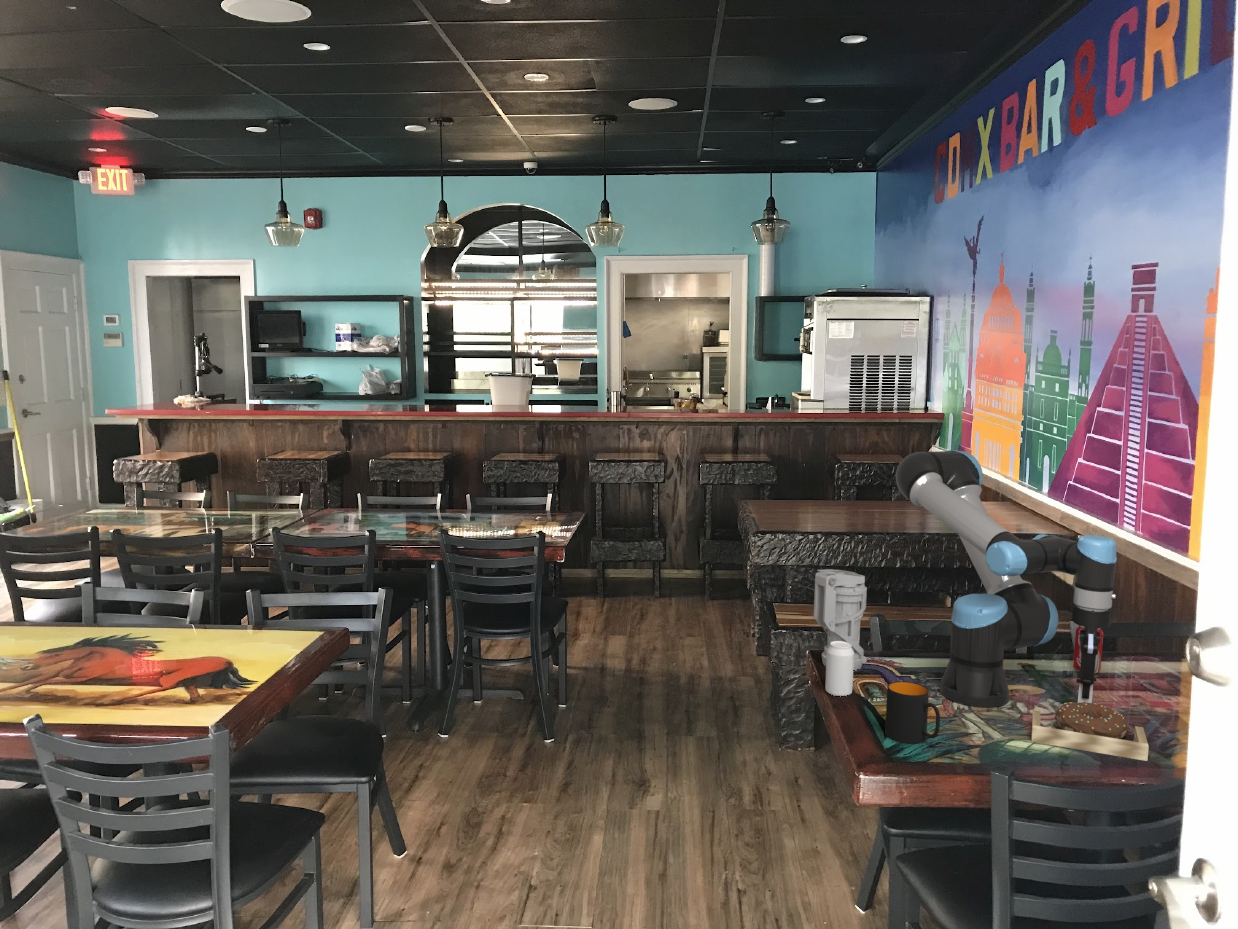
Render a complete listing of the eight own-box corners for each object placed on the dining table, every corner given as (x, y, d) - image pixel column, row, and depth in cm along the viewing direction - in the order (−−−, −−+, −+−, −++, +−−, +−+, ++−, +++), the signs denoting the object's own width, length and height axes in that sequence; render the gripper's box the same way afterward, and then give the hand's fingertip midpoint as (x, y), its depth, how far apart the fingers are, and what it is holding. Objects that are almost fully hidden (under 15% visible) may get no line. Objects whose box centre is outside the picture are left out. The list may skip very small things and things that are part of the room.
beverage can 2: (1103, 676, 231) (1107, 630, 230) (1076, 674, 232) (1080, 628, 231) (1095, 668, 237) (1099, 623, 236) (1069, 666, 238) (1073, 621, 237)
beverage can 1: (823, 696, 215) (825, 646, 214) (827, 687, 221) (829, 638, 219) (850, 700, 213) (852, 649, 211) (854, 691, 219) (856, 642, 217)
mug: (925, 754, 185) (928, 704, 183) (876, 733, 194) (879, 686, 193) (950, 744, 190) (953, 695, 188) (901, 724, 199) (903, 678, 198)
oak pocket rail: (1031, 741, 191) (1032, 727, 191) (1031, 723, 201) (1032, 710, 201) (1147, 761, 183) (1148, 746, 183) (1141, 741, 192) (1143, 727, 192)
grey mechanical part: (846, 656, 244) (850, 563, 241) (871, 669, 234) (876, 572, 231) (805, 662, 239) (808, 567, 236) (829, 675, 229) (833, 576, 226)
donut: (1049, 716, 205) (1051, 695, 205) (1117, 724, 202) (1119, 702, 201) (1061, 742, 192) (1062, 719, 191) (1134, 751, 188) (1136, 727, 187)
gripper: (1113, 616, 194) (1104, 724, 197) (1110, 602, 206) (1101, 703, 209) (1073, 612, 197) (1065, 717, 200) (1072, 597, 209) (1065, 697, 212)
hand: (1083, 710), depth 205 cm, fingers closed
